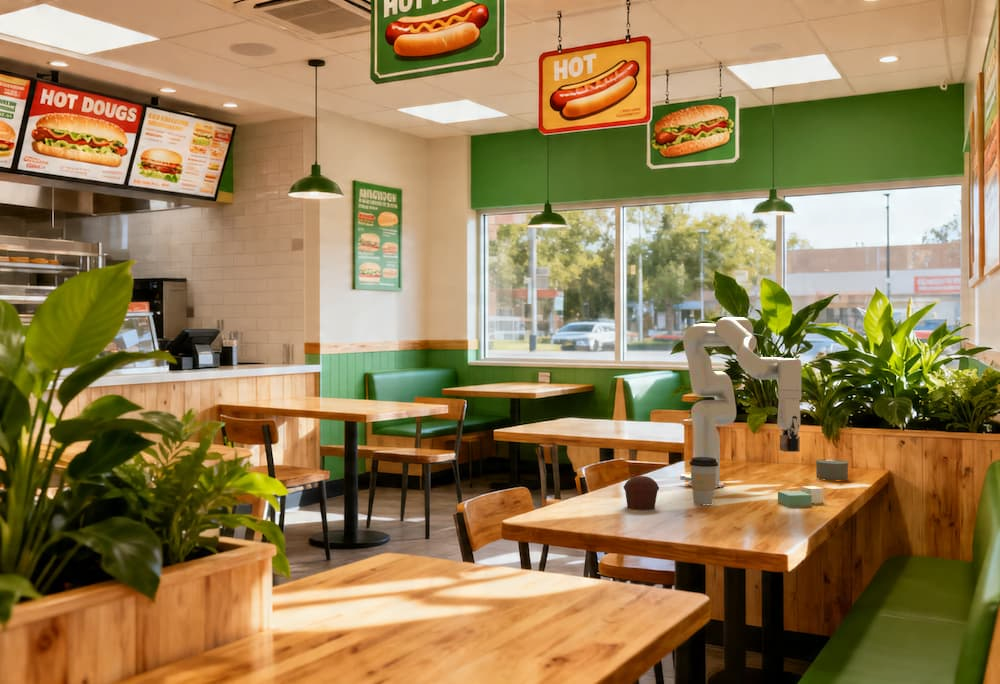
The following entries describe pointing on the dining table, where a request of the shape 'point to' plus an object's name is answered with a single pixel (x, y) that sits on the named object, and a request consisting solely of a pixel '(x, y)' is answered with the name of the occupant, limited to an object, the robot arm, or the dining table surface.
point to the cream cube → (814, 493)
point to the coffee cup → (703, 479)
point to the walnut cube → (784, 443)
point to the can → (832, 469)
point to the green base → (794, 498)
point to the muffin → (641, 493)
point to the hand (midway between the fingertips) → (789, 449)
